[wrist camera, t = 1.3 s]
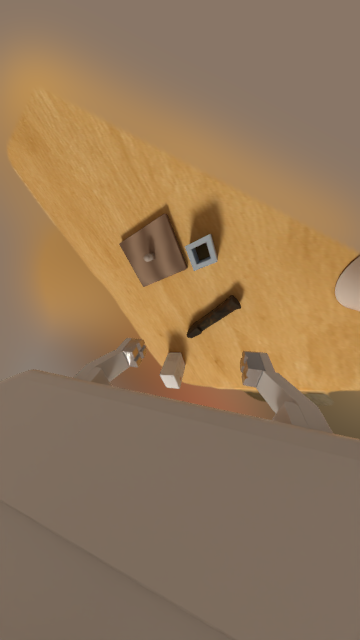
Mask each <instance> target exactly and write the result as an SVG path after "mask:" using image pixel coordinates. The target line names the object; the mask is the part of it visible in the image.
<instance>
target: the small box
mask: <svg viewBox="0 0 360 640" xmlns="http://www.w3.org/2000/svg"><path fill="white" fill-rule="evenodd" d="M184 369H185V363H184V360H183V357H182V355H181V352H180V353H168V355H167V357H166V360H165V362H164V365H163V367H162V370H161V372H160V376H161V378H162V380H163V382H164V384H165V385H166V387H168V388H178V389H179V388H180V385H181V381H182V377H183V373H184Z"/></svg>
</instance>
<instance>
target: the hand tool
mask: <svg viewBox="0 0 360 640" xmlns="http://www.w3.org/2000/svg"><path fill="white" fill-rule="evenodd" d="M240 308H241V305H240V303H239V302H238V300H237V299H236V298H235V297H234V296H232V295H231V296H230V298H229V299H227V300H226V301H225V302H224V303H222V304H221V305H219V306H218V307H217V308H216V309H214V310H212V311H211V312H210V313H209V314H207V315H206V316H205V317H203V318H202V319H200V320H199V321H196V322H195V323H194V324H193V325H192V326H191V328H190V329H189V330H188V333H187V337H188V338H193V337H195V336H197V335H199V334H201V333H202V331H203V330H205V329H206V328H207V327H209V326H211V325H212V324H214V323H216V322H217V321H219V320H220V319H222V318H224V317H225V316H227V315H228V314H230V313H231V312H233V311H234V310H236V309H240Z"/></svg>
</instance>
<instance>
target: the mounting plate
mask: <svg viewBox="0 0 360 640" xmlns="http://www.w3.org/2000/svg"><path fill="white" fill-rule="evenodd" d="M120 246H121V248H122V250H123V252H124V253H125V255H126V257H127V259H128V260H129V262H130V264H131V266H132V268H133V269H134V271H135V273H136V275H137V276H138V278H139V280H140V282H141V284H142V285H143V287H145V286H147V285H149V284H152V283H154V282H157V281H159V280H161V279H164V278H166V277H168V276H171V275H173V274H176V273H178V272H180V271H183V270H185V269H187V268H188V267H187V265H186V262H185V260H184V257H183V254H182V252H181V249H180V246H179V244H178V241H177V239H176V236H175V233H174V231H173V228H172V225H171V223H170V220H169V218H168V215H167V214H163V215H162V216H160V217H159V218H157V219H156V220H154V221H153V222H151V223H150V224H148V225H147V226H145V227H144V228H142V229H141V230H139V231H138V232H136V233H135V234H133V235H132V236H130V237H129V238H127V239H126V240H124V241H123V242H121V243H120Z"/></svg>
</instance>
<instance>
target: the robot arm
mask: <svg viewBox="0 0 360 640" xmlns="http://www.w3.org/2000/svg"><path fill="white" fill-rule="evenodd" d="M335 295H336V298H337V300H338V301H339V303H340V304H342V305H343V306H345V307H347V308H350V309H354V310H357V311H360V256H359V257H358V258H357V259H356V260H354V261H353V262H352V263H351V264H350V265H349V266H348V267H347V268H346V269H345V270H344V272H343V273H342V274H341V276H340V278H339V279H338V281H337V284H336V288H335ZM144 343H145V342H144V340H141V339H133V338H126V339H125V341H124V342H123V343H122V344H121V345H120V346H119V347H118V348H117V350H114V351H112V352H110V353H108V354H106V355H104V356H102V357H100V358H98V359H96V360H94V361H92V362H90V363H88V364H86V365H85V366H84V367H83V368H82V369H81V370H80V371H79V372H78V373H77V374H76V375H75V376H74V377H73V378H72V377H67V376H63V375H58V374H54V373H48V372H44V371H40V370H34V369H33V370H28V371H25V372H23V373H19V374H17V375H14V376H12V377H10V378H7V379H5V380H2V381H0V640H360V439H355V438H351V437H346V436H342V435H337V434H333V432H332V430H331V429H330V427H329V425H328V424H327V422H326V420H325V418H324V417H323V415H322V413H321V412H320V410H319V408H318V406H316V405H315V404H314V403H313V402H312V401H310V400H309V399H308V398H307V397H306V396H305V395H303V394H302V393H301V392H300V391H299V390H298V389H296V388H295V387H294V386H293V385H292V384H290V383H289V382H288V381H287V380H286V379H285V378H283V377H282V376H281V375H280V374H279V373H275V370H274V368H273V366H272V363H271V361H270V359H269V356H268V354H267V353H261V352H251V351H243V352H242V358H241V360H240V370H241V372H242V382H243V385H246V386H251V387H256V388H257V390H258V391H259V392H260V394H261V395H262V396H263V398H264V399H265V400H266V401H267V403H268V404H269V405H270V407H271V408H272V409H273V410H274V412H275V413H276V415H275V416H274V418H273V419H272V420H267V419H263V418H258V417H253V416H249V415H244V414H239V413H235V412H230V411H225V410H220V409H216V408H212V407H207V406H202V405H198V404H192V403H188V402H184V401H179V400H174V399H169V398H165V397H160V396H156V395H151V394H146V393H141V392H137V391H132V390H127V389H123V388H118V387H114V386H112V385H111V383H110V381H111V380H113V379H114V378H115V377H117V376H118V375H119V374H121V373H122V372H123V371H124V370H126V369H127V368H128V367H129V366H131V367H138V366H139V365H140V363H141V361H142V360H141V359H142V358H144V356H145V355H146V346H144Z"/></svg>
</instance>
